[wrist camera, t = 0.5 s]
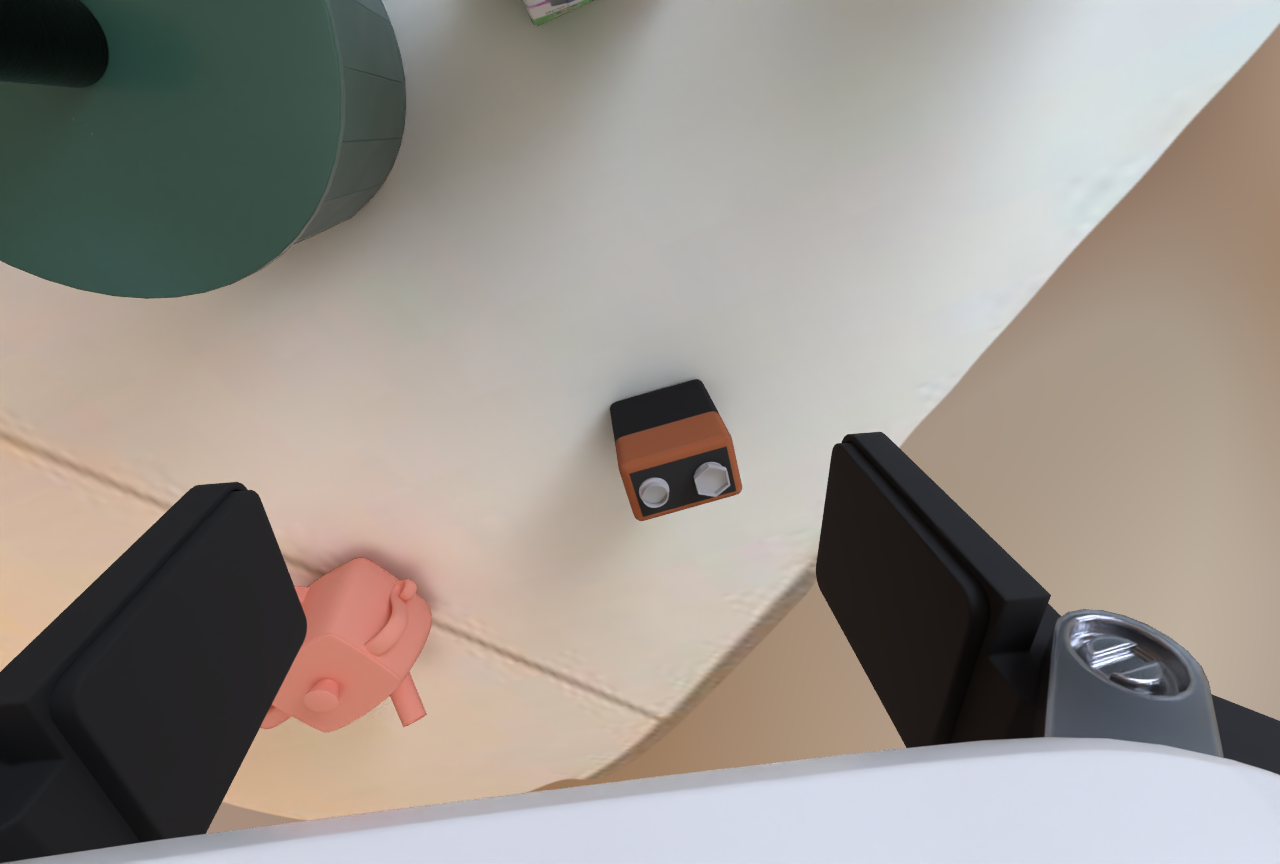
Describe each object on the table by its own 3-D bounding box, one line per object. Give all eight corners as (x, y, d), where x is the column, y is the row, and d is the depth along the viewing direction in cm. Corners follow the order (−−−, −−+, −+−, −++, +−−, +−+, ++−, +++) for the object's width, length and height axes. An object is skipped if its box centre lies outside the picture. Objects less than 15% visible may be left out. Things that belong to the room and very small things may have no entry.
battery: (712, 428, 44) (749, 503, 35) (624, 453, 44) (638, 534, 35) (700, 375, 42) (736, 441, 33) (607, 401, 42) (618, 474, 33)
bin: (-35, -137, 27) (-414, -304, 16) (352, -161, 28) (224, -331, 17) (142, 251, 34) (-38, 304, 24) (438, 222, 35) (386, 260, 25)
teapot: (441, 656, 51) (417, 762, 43) (291, 649, 49) (234, 759, 40) (448, 549, 46) (422, 645, 38) (282, 536, 44) (214, 635, 35)
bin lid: (-419, -315, 17) (-967, -562, 11) (245, -343, 18) (83, -581, 12) (-30, 313, 25) (-217, 371, 19) (405, 268, 26) (356, 310, 20)
